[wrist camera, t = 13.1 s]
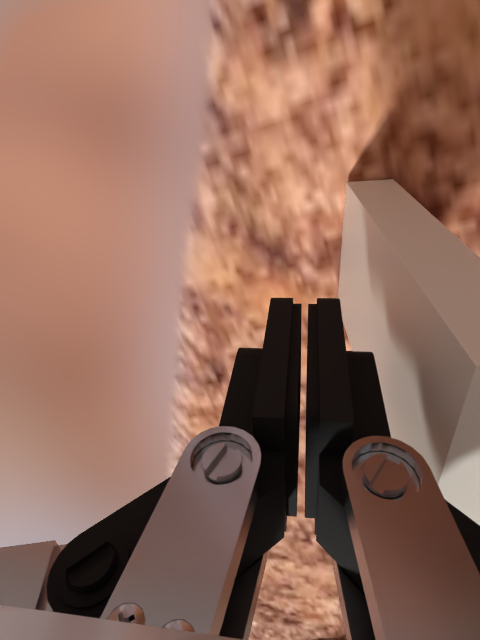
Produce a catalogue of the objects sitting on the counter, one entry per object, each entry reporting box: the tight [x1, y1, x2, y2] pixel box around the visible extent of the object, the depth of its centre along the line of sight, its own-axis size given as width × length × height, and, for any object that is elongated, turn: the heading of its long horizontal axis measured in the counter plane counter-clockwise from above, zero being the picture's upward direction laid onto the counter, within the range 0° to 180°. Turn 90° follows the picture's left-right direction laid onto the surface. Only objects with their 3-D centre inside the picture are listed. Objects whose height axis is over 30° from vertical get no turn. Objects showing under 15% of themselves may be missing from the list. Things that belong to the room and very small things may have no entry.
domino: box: [338, 179, 480, 525], centre depth 11 cm, size 2×5×10 cm, turn 4°
